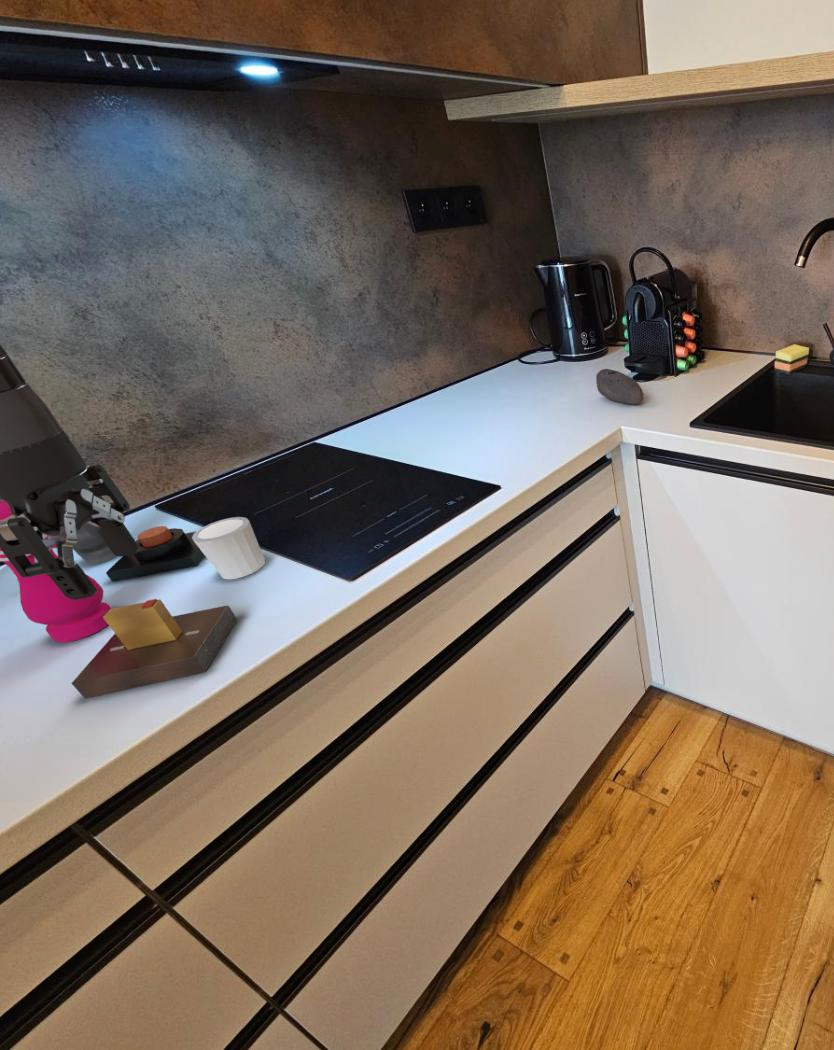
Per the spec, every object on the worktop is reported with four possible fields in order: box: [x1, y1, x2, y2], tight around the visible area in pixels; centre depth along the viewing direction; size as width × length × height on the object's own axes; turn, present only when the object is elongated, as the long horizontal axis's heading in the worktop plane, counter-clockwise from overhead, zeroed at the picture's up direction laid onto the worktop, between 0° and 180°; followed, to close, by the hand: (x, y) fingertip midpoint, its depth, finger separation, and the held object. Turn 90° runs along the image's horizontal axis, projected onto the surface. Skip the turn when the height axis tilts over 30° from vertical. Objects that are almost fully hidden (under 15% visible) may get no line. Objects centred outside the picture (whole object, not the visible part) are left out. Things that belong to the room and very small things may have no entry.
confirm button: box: [137, 525, 173, 547], centre depth 89 cm, size 4×4×2 cm
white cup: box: [192, 516, 266, 580], centre depth 85 cm, size 7×7×7 cm
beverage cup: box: [73, 523, 118, 565], centre depth 88 cm, size 7×7×20 cm
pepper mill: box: [0, 500, 112, 643], centre depth 72 cm, size 7×7×20 cm
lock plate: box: [71, 604, 238, 699], centre depth 70 cm, size 12×10×3 cm
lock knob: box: [103, 598, 182, 650], centre depth 68 cm, size 5×2×5 cm, turn 106°
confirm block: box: [105, 527, 206, 583], centre depth 90 cm, size 11×9×4 cm
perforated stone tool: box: [595, 368, 644, 406], centre depth 139 cm, size 15×5×7 cm, turn 44°
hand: (108, 574), depth 65 cm, fingers open, 8 cm apart
